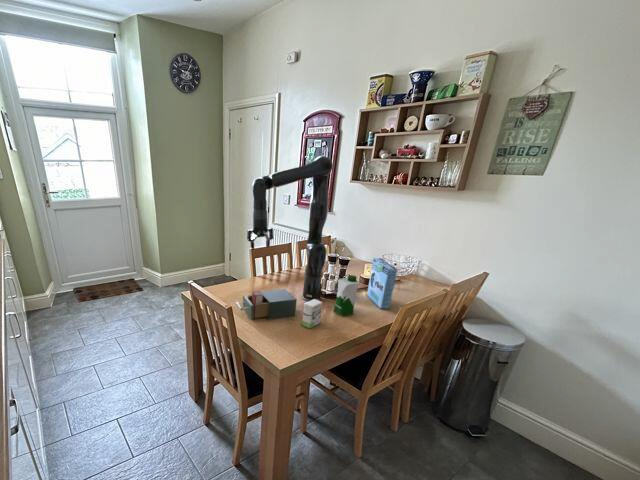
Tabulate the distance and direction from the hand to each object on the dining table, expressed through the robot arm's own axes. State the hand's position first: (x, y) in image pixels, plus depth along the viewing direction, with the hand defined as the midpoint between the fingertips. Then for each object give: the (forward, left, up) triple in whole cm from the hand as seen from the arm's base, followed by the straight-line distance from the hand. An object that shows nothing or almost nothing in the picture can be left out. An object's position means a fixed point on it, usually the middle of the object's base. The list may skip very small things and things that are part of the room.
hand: (260, 248), depth 179 cm
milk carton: (-36, +32, -29) cm, 56 cm away
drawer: (+10, +22, -28) cm, 37 cm away
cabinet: (-2, +22, -29) cm, 36 cm away
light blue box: (-63, +25, -29) cm, 74 cm away
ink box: (-13, +39, -29) cm, 50 cm away
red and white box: (+9, +22, -27) cm, 36 cm away
